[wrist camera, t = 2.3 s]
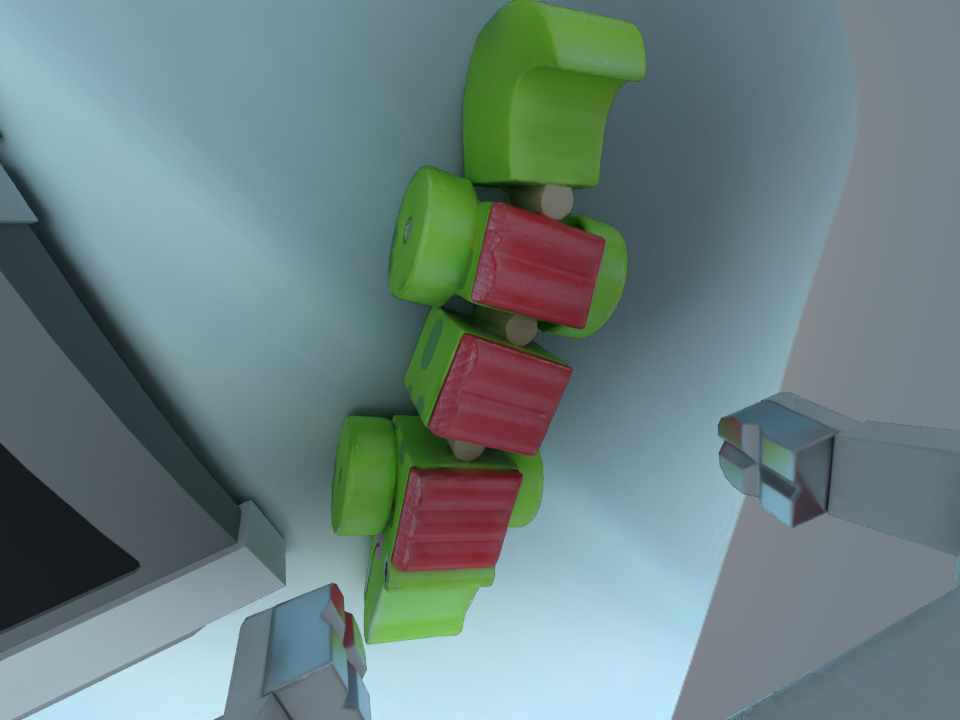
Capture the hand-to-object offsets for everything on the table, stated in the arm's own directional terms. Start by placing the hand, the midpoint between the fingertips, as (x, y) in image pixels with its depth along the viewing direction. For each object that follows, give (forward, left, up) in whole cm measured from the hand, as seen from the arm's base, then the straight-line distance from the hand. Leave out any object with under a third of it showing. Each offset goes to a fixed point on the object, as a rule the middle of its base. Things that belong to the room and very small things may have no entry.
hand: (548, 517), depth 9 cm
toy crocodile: (0, 0, -9) cm, 9 cm away
